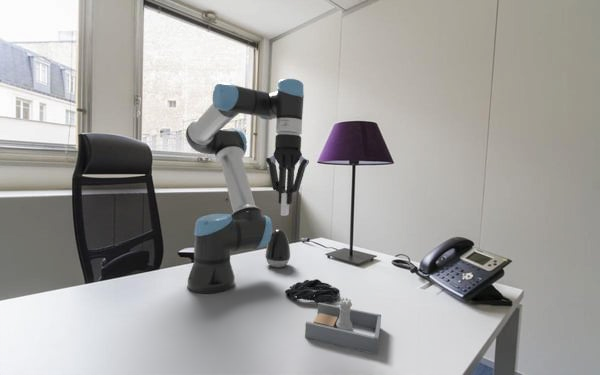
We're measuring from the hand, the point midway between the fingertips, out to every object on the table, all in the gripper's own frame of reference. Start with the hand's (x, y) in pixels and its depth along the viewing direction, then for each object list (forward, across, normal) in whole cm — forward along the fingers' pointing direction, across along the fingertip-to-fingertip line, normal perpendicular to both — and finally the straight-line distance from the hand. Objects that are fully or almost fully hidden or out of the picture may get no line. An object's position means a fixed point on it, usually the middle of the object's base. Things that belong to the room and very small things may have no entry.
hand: (284, 214), depth 87 cm
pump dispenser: (+27, -14, +30) cm, 42 cm away
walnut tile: (+27, +16, -9) cm, 32 cm away
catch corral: (+26, +21, -9) cm, 35 cm away
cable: (+27, +7, +9) cm, 29 cm away
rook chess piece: (+27, +21, -8) cm, 35 cm away
